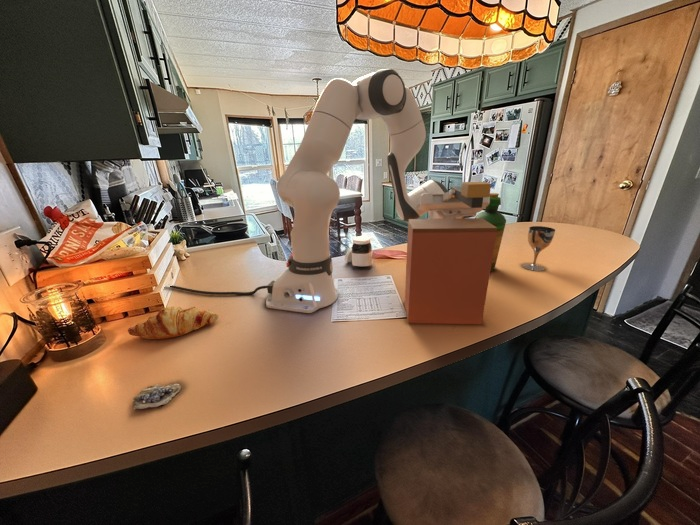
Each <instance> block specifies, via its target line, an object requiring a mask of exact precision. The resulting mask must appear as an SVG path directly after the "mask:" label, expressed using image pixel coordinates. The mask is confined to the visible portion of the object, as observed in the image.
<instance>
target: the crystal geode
mask: <svg viewBox="0 0 700 525" xmlns="http://www.w3.org/2000/svg"><path fill="white" fill-rule="evenodd" d="M181 390H182V386H181V384H180V383H173V384H170V383H169V384H168V385H166V386H165V383H163V384H162V385H160V384H159V383H157V384H156V385H150V386H147V387H145V388H143V389H142V390H141V391H140V392H139V394H137V395H135V396H134V397H133V401H132V403H133V404H135V405H133V407H132V409H131V410H133V409H134V410H137V409H138V410H143V409H148V408H157V407H160V406H161V405H162V406H163V405H167V404H168V403H169V402H171V400H173V398H174V397H176V395H177V394H178V393H179V392H181Z"/></svg>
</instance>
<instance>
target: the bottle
mask: <svg viewBox="0 0 700 525" xmlns="http://www.w3.org/2000/svg"><path fill="white" fill-rule="evenodd" d="M489 196H490V203H489V205H488V206H487V207H486V208H485V209H484V210H482V211H480V212H478V213H477V214H476V216H475V217H474V218H483V219H484V220H486V221H487V222H489V223H491V224H492V225H494V226H495V227H497V234H496V240H495V246H494V252H493V258H492V264H491V270H490V272H492V271H495V269H496V265H497V261H498V256H499V252H500V249H501V244H502V240H503V236H504V231H505V228H506V223H507V218H506V217H505V215H504V214H502V213H501V212H499V206H501V205H502V200H501V198H502V197H500V193H497V192H490V195H489Z"/></svg>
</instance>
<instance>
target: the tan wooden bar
mask: <svg viewBox="0 0 700 525" xmlns="http://www.w3.org/2000/svg"><path fill="white" fill-rule="evenodd" d="M491 187H492V183H490V182H486V181H462V182H461V186H457V185H456V186H455V185H453V186H450V187H449V188H450V189H449V191H450V190H456V195H455V198H456V199H458V200H460V201H461V202H463V203H464V204H466V205H468V206H469V207H471V208H482V203H483V197H489V195H490V193H491Z"/></svg>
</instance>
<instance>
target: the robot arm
mask: <svg viewBox="0 0 700 525" xmlns="http://www.w3.org/2000/svg"><path fill="white" fill-rule="evenodd" d="M419 107H420V106H419V104H418V102H417V100H416V97H415V96H414V94H413V92H412V91H411V89H410V88H409V87H408V86H406V84H405V81H404V80H403V77H402V76H401V75H400V73H399V72H398V71H397V70H395V69H392V68H381V69H378V70H377V71H375V72H370V73H367V74H364V75H362V76H360V77H358V78H357V79H356V80H353V81H349V80H347V79H344V78H341V77H340V78H339V77H338V78H333V79H331V80H330V81H329V82H328V83H326V85H325V87H324V88H323V90H322V92H321V94H320V95H319V98H318V100H317V101H316V104H315V106H314V108H313V111H312V114H311V117H310V118H309V120H308V121H309V122H308V123H307V124H308V125H307V127H306V129H305V132H304V134H303V136H302V139H301V142H300V144H299V146H298V148H297V149H296V151H295V153H294V154H293V156H292V157H291V160H290V162H289V163H288V165H287V167H286V169H285V171H284V172H283V173H282V174H281V176H280V177H279V178H278V180H277V182H276V192H277V194H278V196H279V198H280V199H281V201H282V202H283V203H284V204H285V205H287V206H288V207H290V208H293V212H294V217H293V225H292V229H291V230H290V241H291V250H292V253H291V254H290V255H289V258H288V259H287V262H286V263H285V265H286V268H287V269H285V271H283V272H282V273H281V274H280V275H279V276H278V277H277V278H276V279H275V280H271V282H269V283H268V284H267V285H261V286H258V287H256V288H255V289H254V290H252V291H247V292H246V291H245V292H241V291H205V290H199V289H191V288H186V287H181V286H177V285H172V284H171V285H172V286H170V287H169V289H175V290H179V291H185V292H190V293H195V294H202V295H217V296H218V295H219V296H220V295H221V296H225V295H226V296H227V295H229V296H230V295H231V296H233V295H234V296H251V295H254V294H256V293H257V292H258V291H260V290H264V289H266V291H267V294H268V295H267V297H266V299H265V306H266V308H268V309H275V310H281V311H288V312H289V311H290V312H296V313H304V314H312V313H314V312H316V311H317V310H319V309H322V308H325V307H328V306H330V305H332V304H334V303H335V302H336V301H337V299H338V297H339V295H338V294H339V293H338V292H337V289H336V286H335V283H334V278H333V270H334V268H333V258H332V254H331V252H330V225H331V219H332V214H333V211H334V210H335V209H336V207H337V206H338V204H339V201H340V199H341V198H340V197H341V193H340V187H339V185H338V182H336V180H335V179H334V178H332V177H331V176H330V175H328V173H329V172H330V170H331V169H332V168H333V167H334V166H335V165H336V164H337V163H338V162H339V161H340V159H341V157H342V155H343V152H344V149H345V146H346V144H347V141H348V138H349V136H350V134H351V131H352V128H353V125H354V122H355V121H357V122H361V121H365V120H376V119H379V118H381V119H382V120H383V122H384V123H385V124H384V125H385V128H386V131H387V133H388V135H389V140H390V149H389V153H388V155H387V156H386V158H387V159H386V160H387V168H388V169H387V170H388V173H389V178H390V183H391V187H392V192H393V197H394V205H395V211H396V214H397V216H398V217H399V219H400V220H401V221H403V222H405V223H408V219H420V218H421V217H422V216H424V215H425V214H428V217H427V219H458V218H475V217H476V216H477V214H479V213H481V212H483V211H484V210H485V208H486V207H487V206H488V205H489V203H490V196H489V197H483V203H482V208H471V207H469V206H468V205H466V204H464V203H463V202H461V201H460V200H458V199H456V198H455V195H456V190H450V189H449V190H448V189H447V187H446V186H445V185H444V184H443V183H442V182H440V181H438V180H435V179H429V180H428V181H426V182H424V183H422V184H421V185H419V186H417V187H416V188H414V189H413V190H411V191H409V192H408V189H407V182H406V178H405V177H406V176H405V174H406V170H407V167H408V166H409V165H410V163H411V162H412V160H413V159H414V158H415V157H416V155H418V153H419V152H420V151H421V150H422V148H423V146H424V145H425V144H424V143H425V141H426V137H427V130H426V125H425V122H424V119H423V115H422V112H421V110H420V108H419Z"/></svg>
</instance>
